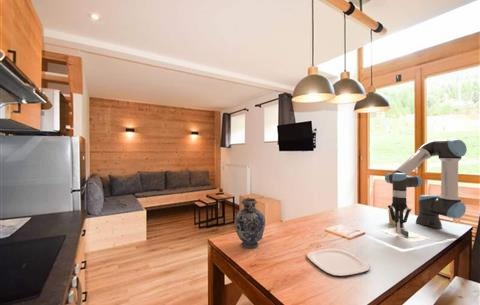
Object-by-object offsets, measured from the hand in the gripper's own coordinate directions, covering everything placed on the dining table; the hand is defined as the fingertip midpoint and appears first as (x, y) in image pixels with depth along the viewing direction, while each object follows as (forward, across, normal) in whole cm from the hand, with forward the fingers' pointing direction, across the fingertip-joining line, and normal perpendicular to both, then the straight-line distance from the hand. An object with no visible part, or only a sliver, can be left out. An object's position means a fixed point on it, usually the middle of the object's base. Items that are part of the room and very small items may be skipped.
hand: (399, 232), depth 147 cm
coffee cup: (+4, -10, +23) cm, 25 cm away
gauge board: (+3, +1, +5) cm, 6 cm away
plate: (+4, -6, -64) cm, 64 cm away
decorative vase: (+4, -49, -87) cm, 100 cm away
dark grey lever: (+2, 0, +6) cm, 6 cm away
